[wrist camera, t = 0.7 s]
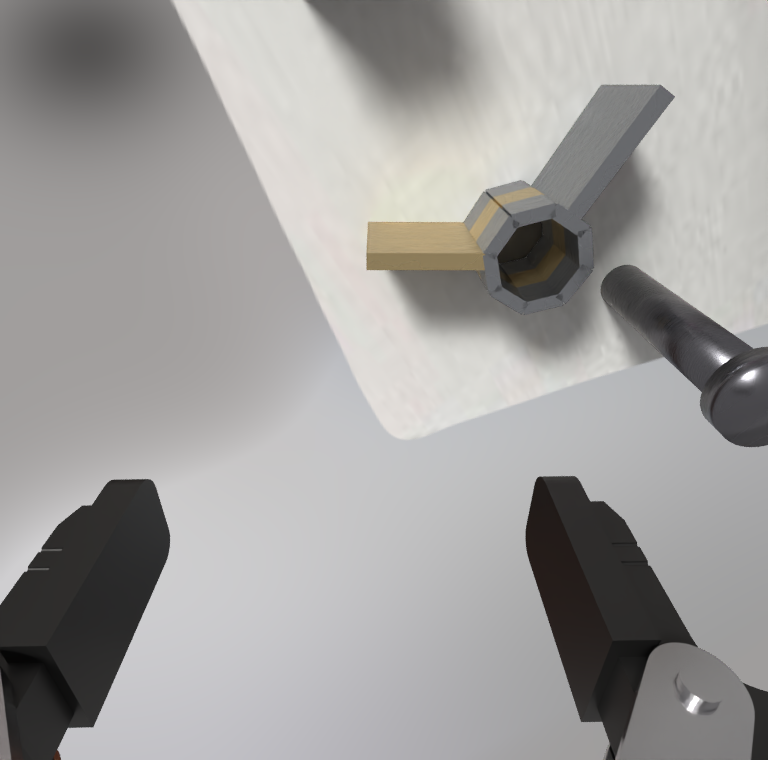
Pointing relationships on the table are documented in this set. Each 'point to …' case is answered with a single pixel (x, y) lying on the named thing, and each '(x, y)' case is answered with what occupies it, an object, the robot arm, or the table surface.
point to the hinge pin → (698, 353)
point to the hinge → (533, 210)
